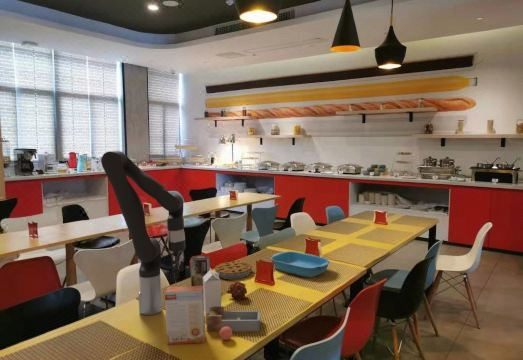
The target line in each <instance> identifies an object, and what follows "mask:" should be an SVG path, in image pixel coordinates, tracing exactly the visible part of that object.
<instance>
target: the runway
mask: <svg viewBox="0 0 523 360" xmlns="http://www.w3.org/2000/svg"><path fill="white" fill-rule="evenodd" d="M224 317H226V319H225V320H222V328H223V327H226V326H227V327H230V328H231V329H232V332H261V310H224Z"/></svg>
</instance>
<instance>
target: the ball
mask: <svg viewBox="0 0 523 360" xmlns="http://www.w3.org/2000/svg"><path fill="white" fill-rule="evenodd" d="M219 337H220V339H222V340H223V341H228V340H229V341H230V339H231V338H232V337H233V331H232V329H231V328H230V327H227V326H226V327H223V328H222V329H221V330H220V331H219Z"/></svg>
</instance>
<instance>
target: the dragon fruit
mask: <svg viewBox="0 0 523 360" xmlns="http://www.w3.org/2000/svg"><path fill="white" fill-rule="evenodd" d="M247 293H248V291H247V288H246V285H245V283H244V282H240V281H237V280H236V281H235V282H234V283H231V284H229V287H228V288H227V290H226V294H230V295H231V298H232V299H237V300H241V299H242V298H243V299H244V298H245V296H246V294H247Z"/></svg>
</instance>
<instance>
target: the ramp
mask: <svg viewBox="0 0 523 360" xmlns="http://www.w3.org/2000/svg"><path fill="white" fill-rule="evenodd" d="M224 311H225V306H222V305H221V306H218V307H210V314H206V332H220V330H221V329H222V320H225V319H226V317H224Z"/></svg>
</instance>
